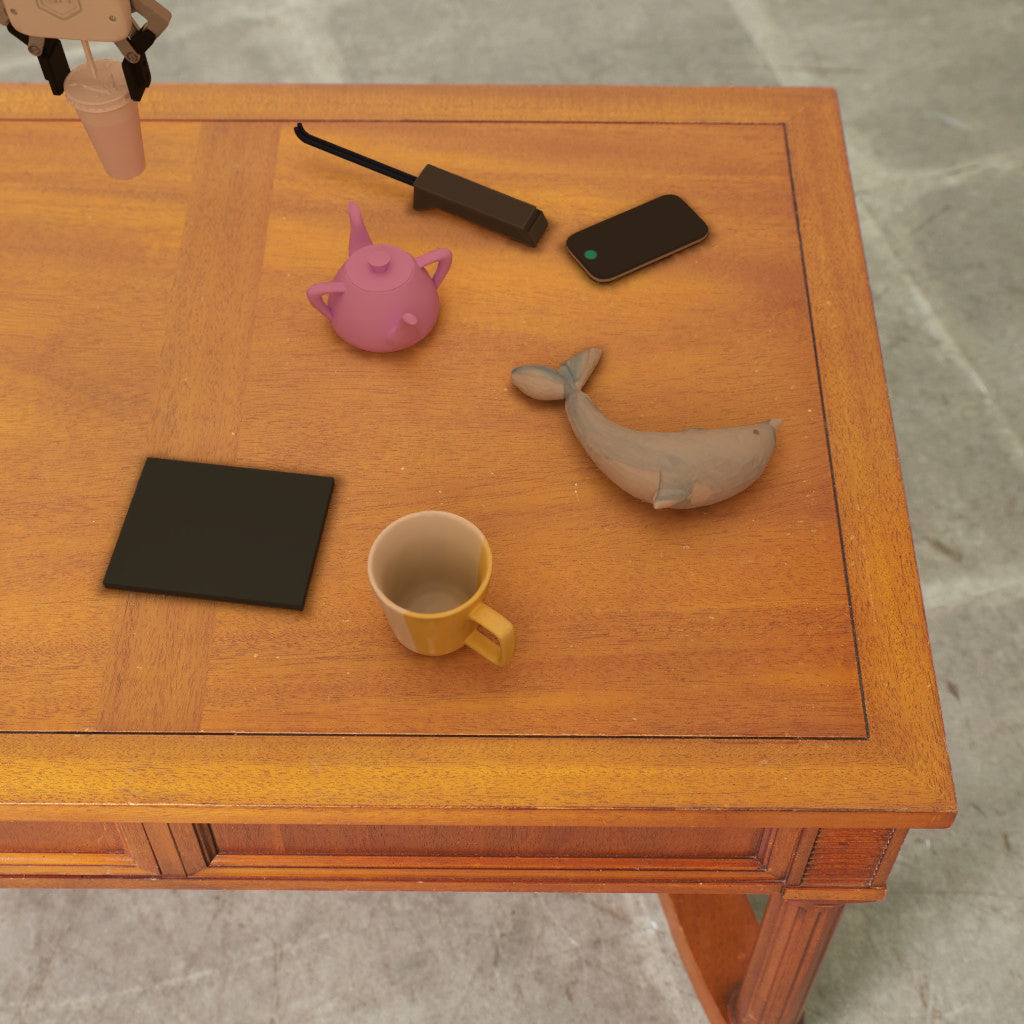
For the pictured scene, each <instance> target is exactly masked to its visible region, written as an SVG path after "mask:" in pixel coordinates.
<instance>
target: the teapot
mask: <svg viewBox="0 0 1024 1024" xmlns="http://www.w3.org/2000/svg"><path fill="white" fill-rule="evenodd" d="M347 212H348V216H349V224H350V231H349V232H350V233H349V240H348V249H347V250H348V257H347V259H346V260H345V261H344V263H342V265H341V266H340V267H339V269H338V270H337V272H336V274H335V275H334V277H333V279H332V281H321V282H317V283H313V284H311V285H310V286H308V287H307V289H306V293H305V294H306V298H307V300H308V302H309V304H310V305H311V306H312V307H313V309H315V310H316V311H317V312H319V313H320V314H321V315H322V316H323V317H325V318H326V319H328V320H329V323H330V325H331V327H332V329H333V330H334V332H335V333H336V334H337V335H338V336H339V337H340V338H341V339H342V340H343V341H344V342H346V343H347V344H348V345H351V346H352V347H355V348H357V349H360V350H363V351H366V352H370V353H371V352H372V353H379V354H383V353H384V354H385V353H386V354H387V353H394V352H399V351H402V350H405V349H407V348H409V347H412V346H413V345H415V344H417V343H419V342H420V341H422V340H423V339H424V338H425V337H427V336H428V335H429V334H430V333H431V331H432V330H433V328H434V327H435V325H436V324H437V321H438V318H439V315H440V311H441V310H440V309H441V307H440V296H439V293H438V289H439V288H440V286H441V285H442V283H443V281H444V280H445V278H446V276H447V274H449V271H450V270H451V266H452V264H453V253H452V250H450V249H449V248H446V247H440V248H436V249H432V250H430V251H427V252H425V253H423V254H421V255H419V256H417V257H415V256H413V255H412V254H411V253H409V252H408V251H406V250H404V249H403V248H401V247H399V246H397V245H394V244H388V243H373V241H372V238H371V236H370V235H369V231H368V229H367V228H366V226H365V223H364V219H363V217H362V213H361V210H360V207H359V205H358V204H357V202H355V201H354V200H350V201H348V204H347ZM434 263H437V266H436V270H435V271H434V273H433V275H432V276H431V275H430V273H429V272H428V270H427V268H425V267H428V266H430V265H432V264H434ZM324 295H328V296H327V304H326V303H325V301H324V300H323V298H322V297H323V296H324Z"/></svg>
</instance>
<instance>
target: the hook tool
mask: <svg viewBox="0 0 1024 1024" xmlns="http://www.w3.org/2000/svg"><path fill="white" fill-rule="evenodd" d="M293 131H294V134H295V136H296V137H297V139H299V141H301V142H302V143H303V144H305V145H307V146H310V147H312V148H316V149H317V150H321V151H323V152H326V153H327V154H330V155H333V156H335V157H338V158H341V159H343V160H345V161H349V162H350V163H353V164H355V165H357V166H361V167H362V168H365V169H368V170H370V171H373V172H375V173H378V174H380V175H383V176H385V177H388V178H390V179H393V180H395V181H397V182H401V183H403V184H405V185H408V186H411V187H413V196H412V209H413V210H415V211H424V210H432V209H433V210H434V209H437V210H439V211H442V212H444V213H447V214H449V215H452V216H454V217H456V218H459V219H462V220H464V221H467V222H469V223H472V224H474V225H477V226H479V227H482V228H484V229H487V230H489V231H491V232H494V233H497V234H499V235H501V236H504V237H506V238H509V239H511V240H513V241H516V242H519V243H522V244H524V245H526V246H528V247H532V248H536V247H537V245H538V243H539V242H540V240H541V238H542V236H543V235H544V233H545V232H546V231H547V228H548V226H549V221H548V220H547V218H546V215H545V214H544V212H543V210H540V209H538V208H537V205H534V204H531V203H530V202H526V201H523V200H522V199H519V198H516V197H514V196H511V195H508V194H506V193H503V192H502V191H499V190H496V189H494V188H491V187H488V186H486V185H484V184H480V183H478V182H475V181H473V180H470V179H468V178H465V177H463V176H460V175H458V174H456V173H453V172H450V171H448V170H446V169H444V168H441V167H438V166H435V165H433V164H430V163H426V165H425V166H424V168H423V169H422V171H420V173H419V175H418V176H415V175H413V174H411V173H408V172H405V171H403V170H401V169H399V168H395V167H394V166H391V165H388V164H385V163H383V162H381V161H378V160H376V159H373V158H370V157H368V156H366V155H363V154H361V153H358V152H356V151H353V150H351V149H348V148H345V147H343V146H340V145H338V144H336V143H334V142H333V143H332V142H330V141H329V140H325V139H323V138H320V137H318V136H315V135H314V134H310V133H309V132H308V131H307V130H305V128H304V126H303V123H302V122H297V123H296V126H294V127H293Z"/></svg>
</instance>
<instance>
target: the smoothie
mask: <svg viewBox="0 0 1024 1024" xmlns="http://www.w3.org/2000/svg"><path fill="white" fill-rule="evenodd" d="M80 43H81V46H82V49H83V52H84V55H85V58H86V62H84V63H81V64H79V65H77V66H76V67H74V68H72V70H70V71H71V72H70V73H69V74H68V75H67V77H66V78H65V80H64V85H63V87H64V94H65V98H66V101H67V103H69V105H70V106H71V107H72V108H74V110H75V112H76V114H77V116H78V118H79V120H80V122H81V124H82V125H83V128H84V130H85V132H86V134H87V136H88V138H89V140H90V142H91V144H92V146H93V148H94V150H95V152H96V154H97V156H98V158H99V160H100V162H101V164H102V166H103V168H104V170H105V172H106V174H107V175H108V177H109V178H111V179H114V180H117V181H130V180H132V179H136V178H138V177H139V176H140V175H142V174H143V173H144V172H145V170H146V167H147V166H146V165H147V164H146V156H145V149H144V141H143V132H142V127H141V126H142V125H141V119H140V111H139V102H137V101H133V100H132V99H131V97H130V94H129V90H128V87H127V83H126V80H125V77H124V73H123V70H122V61H120V60H117V59H116V60H115V59H112V58H111V59H110V58H109V59H108V58H101V59H100V58H99V59H94V57H93V54H92V50H91V47H90V44H89V41H83V40H80Z"/></svg>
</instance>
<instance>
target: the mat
mask: <svg viewBox="0 0 1024 1024" xmlns="http://www.w3.org/2000/svg"><path fill="white" fill-rule="evenodd" d="M335 484H336V482H335V477H333V476H326V475H325V476H324V475H318V474H317V475H316V474H307V473H297V472H288V471H280V470H271V469H270V470H269V469H260V468H253V467H243V466H234V465H225V464H215V463H205V462H197V461H196V462H195V461H187V460H180V459H179V460H178V459H170V458H169V459H168V458H161V457H151V456H150V457H149V456H147V457H146V460H145V463H144V465H143V468H142V470H141V474H140V475H139V479H138V481H137V484H136V487H135V489H134V490H135V491H134V493H133V495H132V499H131V502H130V504H129V507H128V510H127V513H126V515H125V518H124V520H123V523H122V527H121V529H120V532H119V536H118V537H117V540H116V543H115V546H114V549H113V552H112V555H111V558H110V560H109V563H108V565H107V569H106V570H105V574H104V577H103V580H102V585H103V587H104V588H105V589H110V590H119V591H128V592H137V593H145V594H154V595H164V596H173V597H179V598H190V599H198V600H206V601H213V602H214V601H215V602H223V603H231V604H239V605H240V604H241V605H249V606H257V607H258V606H259V607H265V608H275V609H283V610H284V609H285V610H293V611H300V612H303V611H304V608H305V605H306V600H307V595H308V592H309V588H310V584H311V579H312V577H313V572H314V568H315V564H316V560H317V556H318V552H319V549H320V544H321V541H322V536H323V533H324V532H323V531H324V528H325V526H326V520H327V516H328V513H329V508H330V504H331V500H332V497H333V492H334V489H335Z"/></svg>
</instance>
